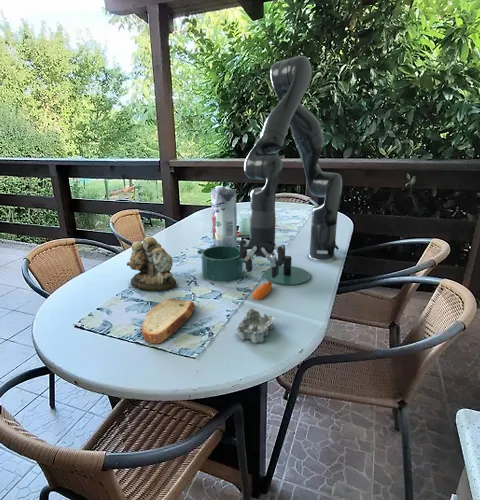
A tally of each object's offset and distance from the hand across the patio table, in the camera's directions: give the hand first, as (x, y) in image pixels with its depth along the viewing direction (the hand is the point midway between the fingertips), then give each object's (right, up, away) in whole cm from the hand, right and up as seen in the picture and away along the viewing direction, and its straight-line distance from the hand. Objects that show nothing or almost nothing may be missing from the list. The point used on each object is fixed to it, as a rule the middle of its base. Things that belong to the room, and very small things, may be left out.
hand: (261, 274), depth 113 cm
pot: (-11, -1, +20) cm, 23 cm away
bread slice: (-27, -13, -9) cm, 32 cm away
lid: (+11, -2, +15) cm, 19 cm away
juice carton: (-9, +8, +47) cm, 49 cm away
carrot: (+1, -7, +3) cm, 8 cm away
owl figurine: (-36, -5, +15) cm, 39 cm away
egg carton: (-4, -14, -16) cm, 22 cm away
